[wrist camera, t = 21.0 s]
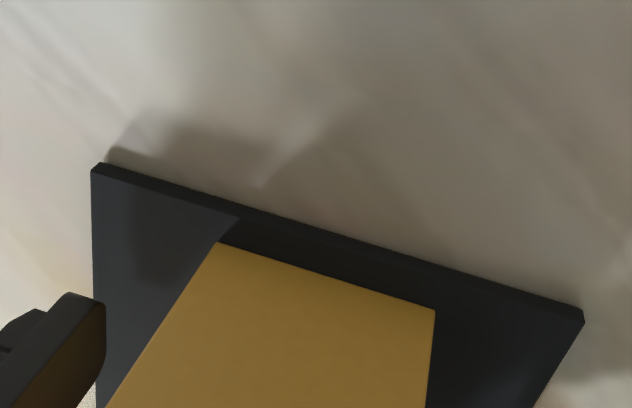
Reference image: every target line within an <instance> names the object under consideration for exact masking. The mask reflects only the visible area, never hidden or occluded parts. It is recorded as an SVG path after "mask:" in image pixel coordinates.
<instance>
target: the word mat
mask: <svg viewBox="0 0 632 408" xmlns="http://www.w3.org/2000/svg"><path fill="white" fill-rule="evenodd" d="M90 178H91V219H92V259H93V299H94V300H97V301H100V302H103V303H104V304H105V306H106V357H105V361H104V364H103V367H102V369H101V372H100V374H99V376H98V377H97V379H96V381H95V382H96V408H105V407H106V405H107V404H108V402H109V401H110V399H111V398H112V396H113V395H114V393H115V392H116V390H117V389H118V387H119V386H120V384H121V383H122V382H123V380H124V379H125V377H126V376H127V374H128V373H129V371H130V370H131V368H132V367H133V365H134V364H135V362H136V361H137V359H138V358H139V356H140V355H141V353H142V352H143V350H144V349H145V347H146V346H147V344H148V343H149V341H150V340H151V338H152V337H153V335H154V334H155V332H156V331H157V329H158V328H159V326H160V325H161V323H162V322H163V320H164V319H165V317H166V316H167V314H168V313H169V311H170V310H171V308H172V307H173V305H174V304H175V302H176V301H177V299H178V298H179V297H180V295H181V294H182V292H183V291H184V289H185V288H186V286H187V285H188V283H189V282H190V280H191V279H192V277H193V276H194V274H195V273H196V271H197V270H198V268H199V267H200V265H201V264H202V262H203V261H204V259H205V258H206V256H207V255H208V253H209V252H210V250H211V249H212V247H213V246H214V244H215V243H216V242H220V243H223V244H226V245H230V246H233V247H236V248H239V249H242V250H246V251H249V252H252V253H255V254H258V255H262V256H265V257H268V258H271V259H274V260H278V261H281V262H284V263H287V264H290V265H293V266H297V267H300V268H303V269H306V270H309V271H313V272H316V273H319V274H322V275H325V276H329V277H332V278H335V279H338V280H341V281H345V282H348V283H351V284H354V285H357V286H360V287H364V288H367V289H370V290H373V291H376V292H380V293H383V294H386V295H389V296H392V297H396V298H399V299H402V300H405V301H408V302H411V303H415V304H418V305H421V306H424V307H427V308H431V309H433V310H435V322H434V331H433V339H432V348H431V357H430V366H429V375H428V384H427V392H426V401H425V408H532V407H533V406H534V404H535V403H536V401H537V399H538V398H539V396H540V395H541V393H542V391H543V390H544V388H545V387H546V385H547V383H548V382H549V380H550V379H551V377H552V375H553V374H554V372H555V371H556V369H557V367H558V366H559V364H560V363H561V361H562V359H563V358H564V356H565V355H566V353H567V351H568V350H569V348H570V347H571V345H572V343H573V342H574V340H575V339H576V337H577V335H578V334H579V332H580V331H581V329H582V327H583V326H584V324H585V319H584V314H583V310H581V309H579V308H575V307H572V306H569V305H566V304H562V303H559V302H556V301H553V300H549V299H546V298H543V297H540V296H536V295H533V294H530V293H526V292H523V291H520V290H517V289H513V288H510V287H507V286H504V285H500V284H497V283H494V282H491V281H487V280H484V279H481V278H478V277H474V276H471V275H468V274H465V273H461V272H458V271H455V270H451V269H448V268H445V267H442V266H438V265H435V264H432V263H429V262H425V261H422V260H419V259H416V258H412V257H409V256H406V255H403V254H399V253H396V252H393V251H390V250H386V249H383V248H380V247H376V246H373V245H370V244H367V243H363V242H360V241H357V240H354V239H350V238H347V237H344V236H341V235H337V234H334V233H331V232H328V231H324V230H321V229H318V228H314V227H311V226H308V225H305V224H301V223H298V222H295V221H292V220H288V219H285V218H282V217H279V216H275V215H272V214H269V213H266V212H262V211H259V210H256V209H253V208H249V207H246V206H243V205H239V204H236V203H233V202H230V201H226V200H223V199H220V198H217V197H213V196H210V195H207V194H204V193H200V192H197V191H194V190H191V189H187V188H184V187H181V186H178V185H174V184H171V183H168V182H164V181H161V180H158V179H155V178H151V177H148V176H145V175H142V174H138V173H135V172H132V171H129V170H125V169H122V168H119V167H116V166H112V165H109V164H106V163H103V162H100V163H98V164H97V165H96V166H95V167H93V168H92V169H91V171H90Z"/></svg>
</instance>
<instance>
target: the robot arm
mask: <svg viewBox="0 0 632 408" xmlns="http://www.w3.org/2000/svg"><path fill="white" fill-rule="evenodd" d="M105 357H106V306H105V304H104V303H103V302H100V301H97V300H94V299H91V298H88V297H85V296H82V295H79V294H75V293H72V292H68V293H65V294H64V295H63V296H62V297H61V298H60V299H59V300H58V301H57V302H56V303H55V304H54V305H53V306H52V307H51V308H50V310H49V311H48V312H44V311H41V310H38V309H33V310H31V311H29V312H27V313H25V314H23V315H22V316H20V317H18V318H16V319H14V320H12V321H10V322H9V323H8V324H7V325H6V326H5V327H4V328H3V329H2V330H1V331H0V408H76V407H77V406H78V404H79V403H80V402H81V400H82V399H83V397H84V396H85V395H86V393H87V392H88V391H89V389H90V388H91V386H92V385H93V384H94V382H95V381H96V379H97V377H98V376H99V374H100V372H101V369H102V367H103V364H104V361H105Z"/></svg>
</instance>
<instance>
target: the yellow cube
mask: <svg viewBox="0 0 632 408" xmlns="http://www.w3.org/2000/svg"><path fill="white" fill-rule="evenodd" d="M434 322H435V310H433V309H431V308H427V307H424V306H421V305H418V304H415V303H411V302H408V301H405V300H402V299H399V298H396V297H392V296H389V295H386V294H383V293H380V292H376V291H373V290H370V289H367V288H364V287H360V286H357V285H354V284H351V283H348V282H345V281H341V280H338V279H335V278H332V277H329V276H325V275H322V274H319V273H316V272H313V271H309V270H306V269H303V268H300V267H297V266H293V265H290V264H287V263H284V262H281V261H278V260H274V259H271V258H268V257H265V256H262V255H258V254H255V253H252V252H249V251H246V250H242V249H239V248H236V247H233V246H230V245H226V244H223V243H220V242H216V243H215V244H214V246H213V247H212V249H211V250H210V252H209V253H208V255H207V256H206V258H205V259H204V261H203V262H202V264H201V265H200V267H199V268H198V270H197V271H196V273H195V274H194V276H193V277H192V279H191V280H190V282H189V283H188V285H187V286H186V288H185V289H184V291H183V292H182V294H181V295H180V297H179V298H178V299H177V301H176V302H175V304H174V305H173V307H172V308H171V310H170V311H169V313H168V314H167V316H166V317H165V319H164V320H163V322H162V323H161V325H160V326H159V328H158V329H157V331H156V332H155V334H154V335H153V337H152V338H151V340H150V341H149V343H148V344H147V346H146V347H145V349H144V350H143V352H142V353H141V355H140V356H139V358H138V359H137V361H136V362H135V364H134V365H133V367H132V368H131V370H130V371H129V373H128V374H127V376H126V377H125V379H124V380H123V382H122V383H121V384H120V386H119V387H118V389H117V390H116V392H115V393H114V395H113V396H112V398H111V399H110V401H109V402H108V404H107V405H106V407H105V408H425V401H426V392H427V384H428V375H429V366H430V357H431V348H432V339H433V331H434Z"/></svg>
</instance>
